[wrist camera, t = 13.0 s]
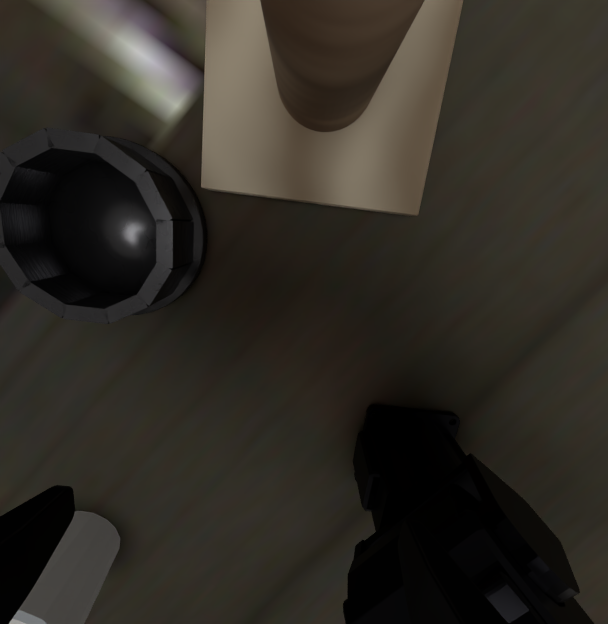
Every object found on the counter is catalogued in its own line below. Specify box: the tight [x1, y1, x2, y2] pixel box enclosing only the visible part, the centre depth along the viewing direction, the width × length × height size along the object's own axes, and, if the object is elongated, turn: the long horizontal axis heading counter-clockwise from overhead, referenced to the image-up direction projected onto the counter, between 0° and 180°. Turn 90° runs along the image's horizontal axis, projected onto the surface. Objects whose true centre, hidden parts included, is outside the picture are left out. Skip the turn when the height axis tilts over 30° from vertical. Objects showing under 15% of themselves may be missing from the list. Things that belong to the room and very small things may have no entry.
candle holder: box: [0, 128, 207, 324], centre depth 17 cm, size 10×10×4 cm
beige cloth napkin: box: [201, 0, 463, 216], centre depth 16 cm, size 12×12×2 cm
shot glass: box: [9, 511, 120, 624], centre depth 22 cm, size 7×7×7 cm
